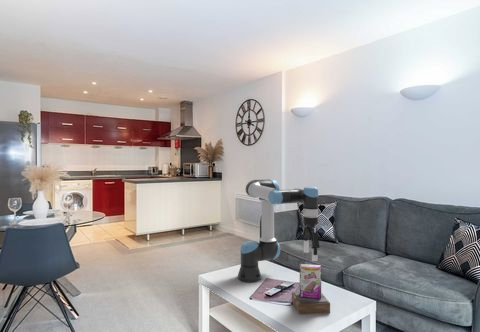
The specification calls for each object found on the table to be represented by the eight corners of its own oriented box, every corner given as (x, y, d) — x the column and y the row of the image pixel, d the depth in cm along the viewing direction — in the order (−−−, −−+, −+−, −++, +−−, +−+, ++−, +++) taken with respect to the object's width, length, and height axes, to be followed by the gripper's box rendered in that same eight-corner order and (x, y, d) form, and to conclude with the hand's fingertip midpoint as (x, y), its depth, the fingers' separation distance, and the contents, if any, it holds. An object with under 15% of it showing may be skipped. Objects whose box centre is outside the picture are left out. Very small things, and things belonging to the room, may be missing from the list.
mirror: (291, 301, 164) (291, 291, 164) (320, 300, 166) (320, 290, 166) (299, 314, 150) (299, 303, 150) (330, 312, 152) (330, 302, 152)
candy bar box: (299, 297, 156) (299, 266, 156) (299, 293, 161) (299, 263, 161) (321, 299, 154) (321, 268, 154) (320, 295, 159) (320, 264, 159)
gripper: (296, 212, 169) (296, 249, 170) (311, 221, 144) (311, 264, 145) (309, 212, 170) (309, 249, 170) (326, 221, 145) (326, 264, 146)
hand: (310, 256), depth 158 cm, fingers open, 13 cm apart
